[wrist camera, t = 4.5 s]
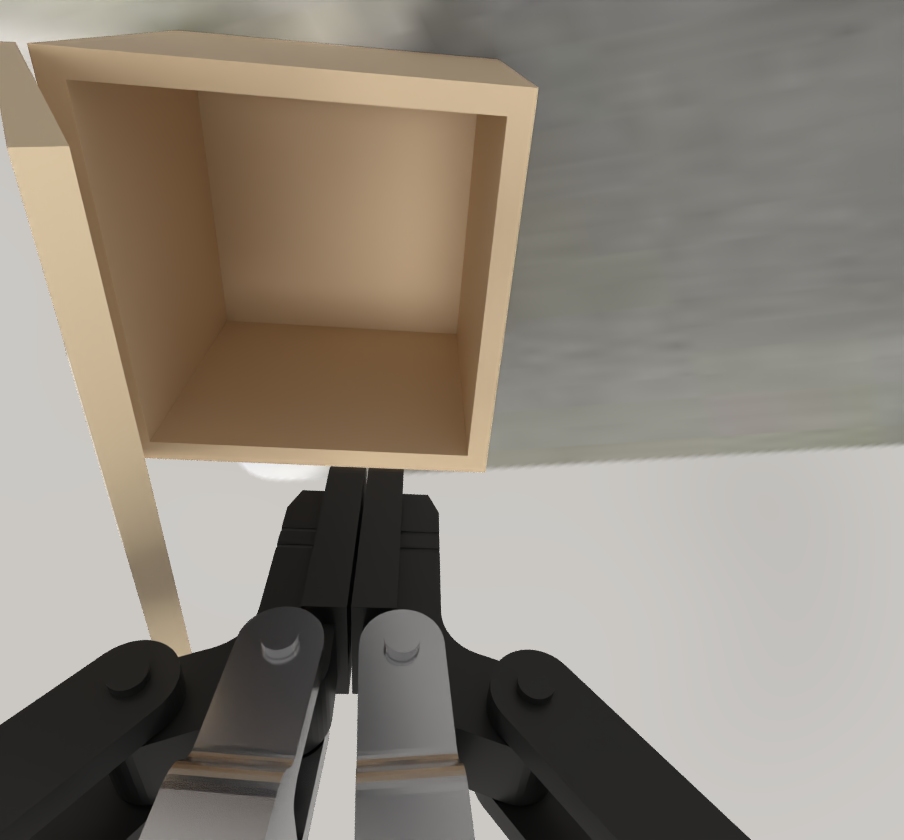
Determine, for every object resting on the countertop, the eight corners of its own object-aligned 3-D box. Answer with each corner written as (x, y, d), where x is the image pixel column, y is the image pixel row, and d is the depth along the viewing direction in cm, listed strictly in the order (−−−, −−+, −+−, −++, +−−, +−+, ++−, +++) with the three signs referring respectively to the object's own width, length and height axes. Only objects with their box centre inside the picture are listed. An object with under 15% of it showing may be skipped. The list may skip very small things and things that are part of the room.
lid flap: (69, 146, 7) (-4, 148, 7) (221, 776, 15) (190, 791, 14) (15, 42, 17) (-16, 40, 16) (124, 457, 24) (104, 461, 24)
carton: (498, 59, 28) (538, 87, 18) (468, 341, 35) (485, 472, 25) (176, 30, 27) (27, 43, 17) (218, 327, 34) (132, 457, 24)
